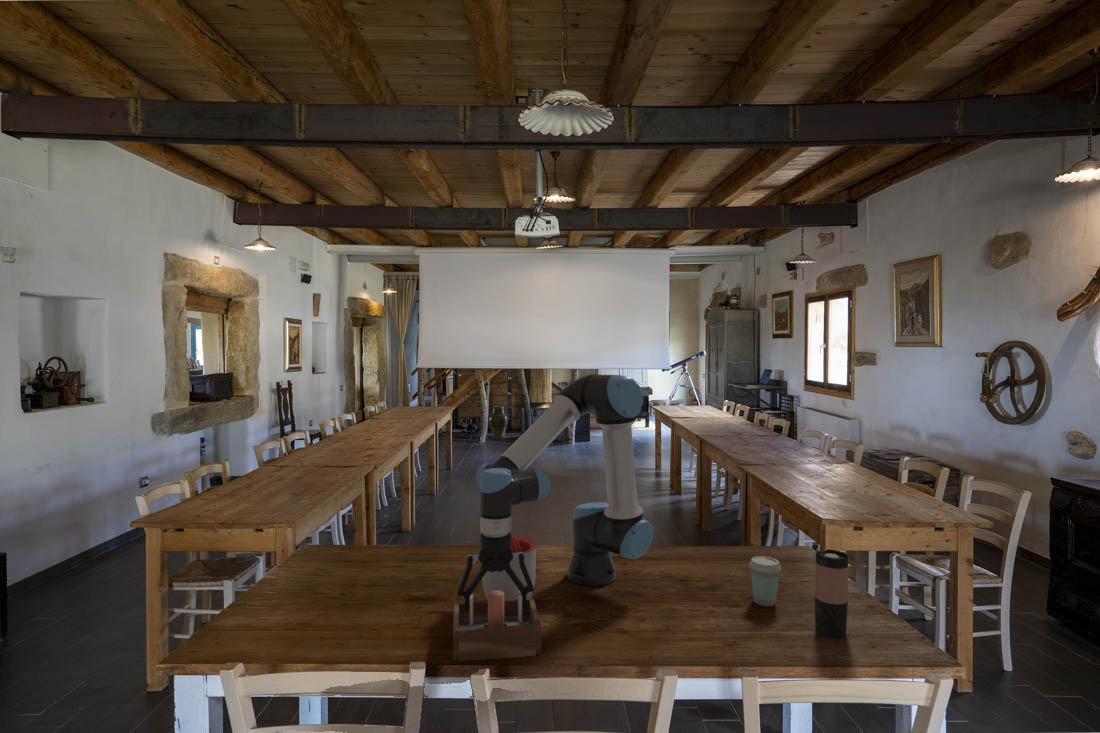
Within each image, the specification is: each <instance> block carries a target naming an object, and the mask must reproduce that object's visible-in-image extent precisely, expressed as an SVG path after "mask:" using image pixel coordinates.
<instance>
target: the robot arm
mask: <svg viewBox="0 0 1100 733" xmlns="http://www.w3.org/2000/svg"><path fill="white" fill-rule="evenodd" d="M643 405H644V393H643V391H642V388H641V386H640V385H639V383H638V382H637V381H636V380H635V379H634V378H633V377H630V376H626V375H620V374H595V373H594V374H593V373H592V374H591V373H590V374H586V375H583V376H580V377H579V378H577V379H574V380H573V381H572V382H571V383H569V384H568V385H567V386H565V387H564V388H562V390H560V392H559V393H557V395H556V396H555V397H554V398H553V403H552V404H551V405H550V406H549V407H548V409H546V410H545V411H544V412H543V413H542V414H541V415H540V416H539V417H538V419H536V420H535V421H534V422H533V424H531V425H530V426H529V427H528V429H526V430H525V431H524V432H523V433H522V434H521V435H520V436H519V437H518V438H517V439H516V440H515V441H514V442H513V443H512V444H511V445H510V446H509V447H508V448H507V449H506V450H505V451H504V452H503V453H502V454H501V455H500V456H499V457H498V458H497V459H496V460H495V461H494V462H485V463H483V464H481V465H480V466H479V468H478V469H477V470H476V474H475V480H476V483H477V485H478V487H479V495H480V496H479V498H480V503H479V504H480V519H479V520H480V522H479V524H480V527H479V528H480V529H479V530H480V543H479V544H480V547H479V548H480V551H479V553H478V554H473V553H472V552H469V553H467V563H466V565H465V568H464V571H463V573H462V576H461V579H460V582H459V585H458V588H457V596H459V597H461V596H462V597H463V598H464V601H465V610H470V625H473V601H474V591H475V589H476V588H477V586H478V585H479V584H480V582H481V581H482V578H483V576H484V575H485V574H486V573H487V571H490V572H495V571H498V572H502V571H503V570H505V571H506V573H507V574H508V575H509V576H510V578H511V579H512V580H513V582H514V583H515V585H516V586H517V587H518V589H519V590H520V591H519V592H518V620H519V622H522V607H526V596H527V593H529V592H533V593H534V591H535V587H534V588H533V584H532V582H531V579H530V576H529V574H528V571H527V568H526V566H525V563H524V554H523V552H522V551H519V553H512V551H511V535H512V533H511V531H512V507H513V506H517V505H522V504H528V503H533V502H538V501H540V500H543V499H545V498H547V497H548V495H549V494H550V493H551V492H550V491H551V480H550V478H549V476H548V474H547V473H546V472H545V471H544V470H539V469H538V470H534V469H533V470H531V471H525V470H527V468H528V467H529V466H530V465H532V463H534V461H535V460H536V459H537V458H538V457H539V456H540V455H541V454H542V453H543V452H544V450H546V449H547V448H548V446H550V444H552V442H553V441H555V439H557V437H558V436H559V435H560V434H561V433H562V432H563V431H564V430H565V429H566V428H567V427H568V426H569V425H570V424H571V423H572V422H576V421H578V420H579V419H580V418H581V417H582V416H584V415H586V414H595V422H596V424H597V425H598V426H599V427H600V428H601V433H602V434H601V435H602V444H603V446H602V447H603V455H604V458H603V459H604V468H605V479H606V480H605V484H606V491H607V502H601V501H600V502H589V503H588V502H587V503H581V504H579V505H577V506H575V507H574V509H573V515H572V516H573V518H572V540H573V542H572V545H573V547H572V548H573V549H572V550H573V551H572V554H571V558H570V561H569V564H568V567H567V578H568V580H569V581H571V582H573V583H575V584H577V585H581V586H591V587H595V586H596V587H597V586H604V585H608V584H611V583H613V582H614V581H615V580H616V575H617V574H616V567H615V565H614V561H613V558H612V555H611V553H612V554H616V555H618V556H621V557H623V558H629V559H633V560H635V559H636V560H637V559H639V558H641V557H643V556H644V555H645V554H646V552H648V550H649V548H650V546H651V544H652V542H653V536H654V528H653V525H652V524H651V523H650V522H649V521H648V520H646V519H644V511H643V510H644V509H643V507H641V506H640V505H639V504H638V497H637V496H638V495H637V493H638V492H637V484H636V482H637V481H636V470H635V458H634V457H635V456H634V444H633V443H634V442H633V429H632V426H633V424H635V422H636V421H637V416H638V415H639V413H641V412H642V407H643ZM513 558H515V559H516V562H519V564H520V568H521V570H522V573H523V576H524V578H525V581H526V583H527V586H524V585H523V583H522V582H521V581H520V579H519V578H518V576H517V575H516V573H515V572H514V571H513V569H512V568H511V566H510V564H509V563H510V562H511V560H512V559H513ZM477 561H479V562H480V564H481V566H480V568H479V570H478V571H477V573H476V574H475V576H474V577H473V579H472V580H471V582H470V583H469V584H468V586H467V587H466V585H467V582H468V580H469V577H470V574H471V572H472V569H473V566H474V565H475V564H476V563H477ZM465 588H466V589H465Z"/></svg>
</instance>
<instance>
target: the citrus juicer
mask: <svg viewBox="0 0 1100 733" xmlns="http://www.w3.org/2000/svg"><path fill="white" fill-rule="evenodd" d="M536 549H537V542H536V541H534V540H533V539H531V538H528V537H525V536H524V537H523V536H516V535H514V536H513V534H511V551H512V553H519V551H522V552H523V554H524V563H525V566H526V568H527V571H528V574H529V576H530V579H531V582H532V584H533V588H534V589H535V584H536V559H537V558H536V554H537V550H536ZM509 564H510V566H511V568H512V569H513V571H514V572H515V573H516V575H517V576H518V578H519V579H520V581H521V582H522V583H523V585H524V586H527V583H526V581H525V578H524V576H523V573H522V570H521V568H520V564H519V562H516V559H515V558H513V559H512V560H511V562H510V563H509ZM481 581H482V587H483V591H484V595H485V596H484V597H485V600H488V593H489V592H490V591H494V590H499V591H503V592H504V599H516V598H518V592H519V591H520V590H519V589H518V587H517V586H516V585H515V583H514V582H513V580H512V579H511V578H510V576H509V575H508V574H507V573H506V571H505V570H503V571H502V572H498V571H495V572H490V571H487V573H486V574H485V575H484V576H483V578H482V579H481ZM533 594H534V591H533V592H529V593H527V596H526V598H529V599H533V598H532V597H533Z"/></svg>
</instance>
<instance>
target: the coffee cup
mask: <svg viewBox="0 0 1100 733" xmlns="http://www.w3.org/2000/svg"><path fill="white" fill-rule="evenodd" d="M748 566H749V568H750V577H751V587H752V597H753V603H755V604H756V605H759V606H762V607H774V606H775V605H776V603H777V602H776V600H777V595H778V587H779V580H780V572H781V570H782V567H781V564H780V561H779V560H778V559H776V558H774V557H770V556H764V555H763V556H761V555H760V556H759V555H757V556H752V557H751V560H750V562H749V564H748Z"/></svg>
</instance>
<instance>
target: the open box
mask: <svg viewBox="0 0 1100 733" xmlns="http://www.w3.org/2000/svg"><path fill="white" fill-rule="evenodd" d="M452 623H453V624H452V625H453V626H452V628H453V629H452V660H453V661H457V662H468V661H469V662H470V660H471V661H481V660H482V661H483V660H497V659H498V660H499V659H513V658H515V659H516V658H525V657H527V656H530V657H537V655H536V654H540V655H542V643H541V642H542V624H541V620H540V617H539V613H538V609H537V606H536V602H535V599H534V598H531V599H529V598H526V607H522V622H519V620H518V598H516V599H504V626H499V627H488V600H486V599H485V600H481V599H480V600H473V625H470V610H465V600H462V601H459V602H454V605H453V622H452ZM527 658H528V657H527Z"/></svg>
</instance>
